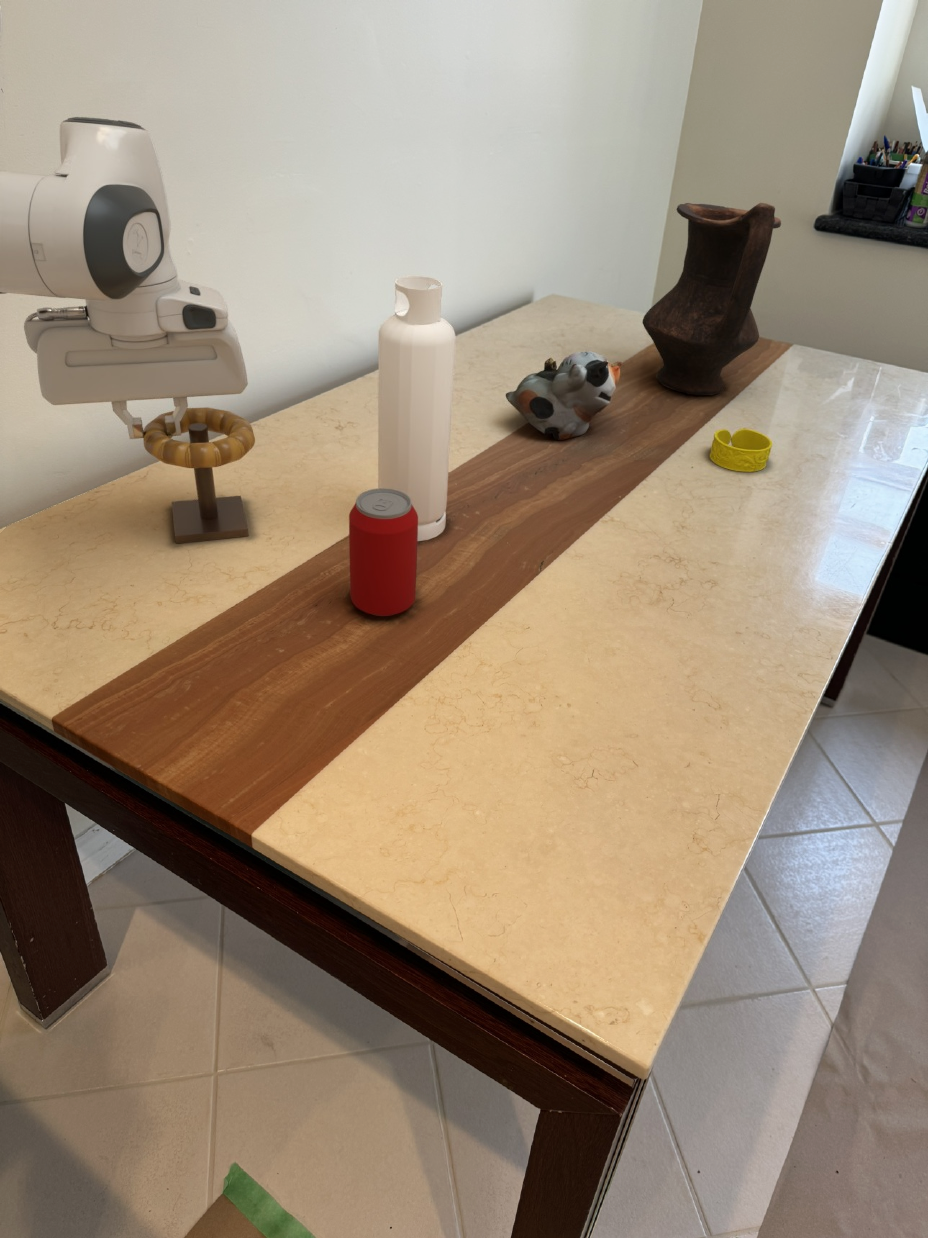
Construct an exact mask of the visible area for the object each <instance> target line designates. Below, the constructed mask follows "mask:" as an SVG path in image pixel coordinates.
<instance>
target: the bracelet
mask: <svg viewBox="0 0 928 1238" xmlns="http://www.w3.org/2000/svg"><path fill="white" fill-rule="evenodd" d="M729 444H730V445H729ZM772 447H773V441H772V440H771V439H770V437H768V436H767V435H766V434H763V433H762V432H759V431H757V430H753V429H750V428H740V429H738V430H736V431H735V432H734V433H733V434H732V435H731V432H730V430H728V429H725V428H722V429H718V430H716V431H715V432H714V434H713V439H712V443H711V446H710V453H709V459H710V460H711V461H712V462H713V463H714V464H715V465H716V466H719V467H721V468H724V469H726V470H730V471H736V472H744V473H745V472H746V473H748V472H750V473H752V472H759V471H762V470H763V469H765V468H766V466H767V462H768V460H769V457H770V455H771V450H772Z"/></svg>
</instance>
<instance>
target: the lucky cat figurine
mask: <svg viewBox="0 0 928 1238" xmlns="http://www.w3.org/2000/svg"><path fill="white" fill-rule="evenodd" d="M622 365H623V362H622V361H616V362H613V363H610V362H609V360H608V359H607V358H606V357H605V356H604V355H601V354H599V353H597V352H594V351H589V350H586V351H581V352H574V353H572V354H570V355H568V356H567V357H565V358H564V359H563V360H562V361H561V362H560V364H559V365H558V366H557V361H556V360H555V359H554V358H553V357H549V358H548V359H546V360H545V361H544V366H543V369H542V370H540V371H538V372H534V373H530V374H528V375H526V376H525V377H524V378H522V380H521V381H520V382H519V384H518V385H517V387H516V389H515V390H513V391H509V392H506V393H505V398H506V400H507V402H508V403H509V404H511V405H512V407H513V408H514V409H515V410H516V411H517V412H519V414H521V416H523V417H524V418H525V420H526V421H527V422H528V423H529V424H530V425H531V426H533V428H535V429H536V430H538V431H539V432H541V433H542V434H544V435H548V434H552V437H553V439H554V440H557V441H563V440H567V439H571V438H575V437H579V436H582V435H584V434H586V432H587V431H588V429H589V428H590V422H591V420H592V418H594V417H595V416H596V415H598V414H599V413H601V412H602V411H603V410H604V409H605V408H607V407H608V406H609V405H610V404H611V399H612V396H613V394H614V392H615V390H616V388H617V385H618V384H619V381H620V376H621V369H620V368H621V366H622Z"/></svg>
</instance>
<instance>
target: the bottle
mask: <svg viewBox="0 0 928 1238" xmlns="http://www.w3.org/2000/svg"><path fill="white" fill-rule="evenodd" d="M394 283H395V285H394V293H395V297H394V298H395V300H394V314H393V315H390V316H389V317H388V318H387V319H385V321H383V322H382V324H380V327H379V329H378V375H377V377H378V378H377V379H378V381H377V382H378V383H377V385H378V387H377V392H378V396H377V397H378V401H377V402H378V404H377V406H378V407H377V408H378V412H377V413H378V414H377V415H378V417H377V420H378V421H377V423H378V425H377V427H378V429H377V430H378V431H377V435H378V436H377V439H378V440H377V458H378V459H377V489H378V488H388V489H394V490H398V491H401V492H403V493H405V494H406V495H408V496H409V498H410V499H411V504H412V505H413V507H414V509H415V510H416V512H417V515H418V541H417V542H423V541H428V540H431V539H434V538H437V537H438V536H439V535H441V534H442V533H443V532H444V530H445V528H446V523H447V521H446V519H447V512H446V511H447V503H448V484H449V467H450V466H449V465H450V449H451V431H452V413H453V395H454V380H455V379H454V377H455V358H456V340H457V337H456V336H457V335H456V332H455V330H454V326H452V325H451V324H450V322H448V321H447V320H446V319H445V318H443V317H442V316H441V315H442V296H443V282H442V281H440V280H439V279H436V278H434V277H429V276H423V275H406V276H400V277H398V278H396V279H395V281H394ZM433 285H434V286H437V287H433V288H430V287H431V286H433Z"/></svg>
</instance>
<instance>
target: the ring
mask: <svg viewBox="0 0 928 1238" xmlns="http://www.w3.org/2000/svg"><path fill="white" fill-rule="evenodd" d="M173 412H174V410H171V411H167V412H163V413H161V414H158V416H156V417H155V418H153V419H152V420H151V421H150V422H148V423H147V424H146V425H145V426H144V427H143V430H144V438H142V439H143V447H144V449H145V451H146V452H147V453H148V454H149V455H151V456H153V457H154V458H156V459H157V460H158V461H160V462H161V463H163V464H166V465H170V466H175V467H180V468H185V469H194V468H209V467H212V468H218V467H222V466H225V465H228V464H232V463H234V462H237V461H240V460H241V459H243V458H244V457H245V456H246V455H247V454H248V453H249V452H250V451H251V450H252V449H253V448H254V446H255V443H256V438H255V432H254V429H253V425H252V424H251V423H250V421H248V420H246V419H245V418H243V417H242V416H240V415H238V414H236V413H235V412H234V411H233V412H232V411H230V410H224V409H219V408H214V407H207V406H206V407H187V409H186V411H185V413H184V415H183V417H182V419H181V421H180V428H181V435H183V434H186V433H189V430H188V427H189V425H191V424H194V423H203V424H205V425H207V429H208V432H211V433H216V434H223V435H224V436H226V437H225V438H221V439H218V440H214V441H211V442H210V441H209V442H208V443H190V442H186V441H182V440H176V439H173V437H174V436H167V429H166V424H165V416H168V415H172V414H173ZM176 435H177V434H176Z"/></svg>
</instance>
